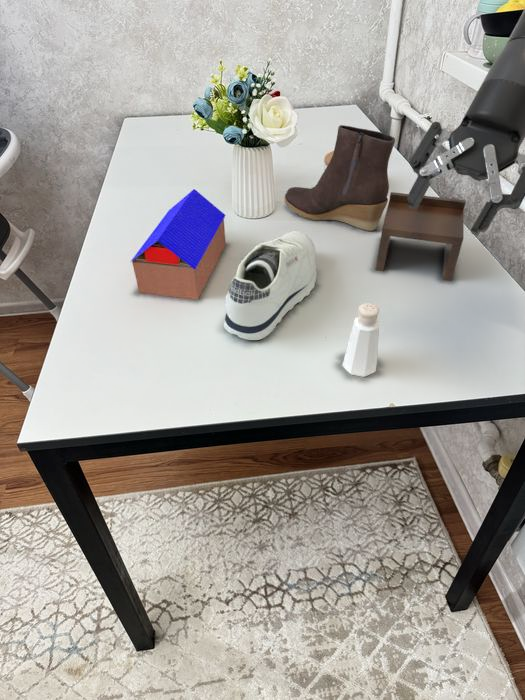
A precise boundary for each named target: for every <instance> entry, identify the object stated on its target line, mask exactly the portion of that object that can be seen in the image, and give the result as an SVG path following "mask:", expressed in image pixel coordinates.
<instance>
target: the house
mask: <svg viewBox="0 0 525 700" xmlns="http://www.w3.org/2000/svg"><path fill="white" fill-rule="evenodd" d="M225 219H226V214H225V213H224V212H223V211H221V210H220V209H219V208H218V207H216V206H215V205H214V204H213V203H212V202H210V200H208V199H207V198H206V197H205V196H204V195H202V194H201V193H200V192H198V190H196V189H195V188H193V189H192V190H190V191H189V192H188V193H187V194H186V195H185V196H183V198H181V199H180V200H179V201H178V202H177V203H176V204H174V205H173V206H172V207H171V208H170V209H168V211H167V212H166V214H165V215H164V216H163V218H162V219H161V220H160V222H158V224H157V226H156V227H155V228H154V230H153V231H152V232H151V233H150V235H149V236H148V237H147V239H146V240H145V241H144V243H143V244H142V245H141V246H140V248H139V250H138V251H137V252H136V253H135V254H134V256H133V257H132V259H131V260H130V262H131V263H132V267H133V271H134V276H135V280H136V284H137V289H138V293H139V294H146V295H155V296H163V297H171V298H179V299H191V300H197V301H198V300H199V298H200V296H201V294H202V293H203V291H204V288H206V285H207V283H208V282H209V279H210V277H211V275H212V273H213V272H214V269H215V267H216V265H217V263H218V261H219V259H220V257H221V255H222V253H223V251H224V249H225V247H226V245H227V243H226V230H225Z"/></svg>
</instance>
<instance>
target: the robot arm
mask: <svg viewBox="0 0 525 700" xmlns="http://www.w3.org/2000/svg"><path fill="white" fill-rule="evenodd" d="M524 140H525V8H523V11H522V13H521V15H520V17H519V19H518V20H517V23H516V24H515V26H514V28H513V30H512V32H511V34H510V36H509V37H508V40H507V41H506V43H505V45H504V46H503V48H502V50H501V51H500V53H499V54H498V55H497V57H496V58H495V59H494V61H493V62H492V65H491V66H490V68H489V70H488V72H487V74H486V76H485V77H484V79H483V81H482V83H481V85H480V87H479V88H478V90H477V91H476V94H475V96H474V97H473V100H472V101H471V103H470V104H469V107H468V108H467V110H466V112H465V114H464V116H463V118H462V120H461V122H460V124H459V125H458V127H456V128H455V129H454V130H451V129H448V128H445V127H443V126H442V124H441V122H439V121H433V122H432V123H431V124H430V126H429V128H428V129H427V131H426V133H425V135H424V136H423V137H422V139H421V141H420V143H419V145H418V146H417V148H416V149H415V151H414V153H413V154H412V156H411V158H410V159H409V165H410V167H411V169H412V171H413V173H415V174H416V175H417V177H416V179H415V181H414V183H413V185H412V187H411V189H410V191H409V192H408V193H407V194H408V198H407V200H408V201H409V204H408V205H409V207H410V208H411V209H414V210H416V209H417V208H418V206H419V204H420V202H421V201H422V199H423V197H424V196H426V193H427V191H428V190H429V188H430V186H431V183H430V182H432V181H433V180H435V179H437V178H439V177H440V176H442V175H443V176H444V175H447V174H448V173H450V172H452V171H453V170H454V171H455V172H456V174H458V175H461V176H469V177H470V178H472V179H473V180H475V181H478V182H481V181H486V180H487V181H488V187H489V192H490V200H489V201H486V203H485V204H484V206H483V208H482V209H481V211H480V213H479V215H478V216H477V217H476V219H475V222H474V223H473V225H472V227H471V228H470V232H471V234H472V235H474V236H479V235H480V233H483V234H484V233H486V231H488V230H489V227H490V226H491V224H492V223H493V221H494V219H495V217H496V215H497V214H498V212H499V211H500V210H501V209H512V210H517V209H519V208H520V207H521V205H522V203H523V201H524V199H525V153H522V152H519V150H520V147H521V145H522V143H523V141H524ZM445 142H448V146H449V149H448V150H446V151H444V152H443V153H441V154H439V155H438V156H436V158H435V159H434V160H432V161H431V162H429V163H428V161H429V159H430V158H431V156H432V155H433V152H434V151H435V150H436V148H437V147H441V146H442V145H443V144H444V143H445ZM427 163H428V164H427ZM514 164H516V165H517V173H518V174H519V177H518V179H517V181H516V183H515V185H514V187H513V189H512V191H511V193H509V194H508V193H505V194H504V193H503V192H502V185H501V177H500V173H501V172H503V171H505V170H506V169H508V168H510V167H512V166H513V165H514Z"/></svg>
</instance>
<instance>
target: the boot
mask: <svg viewBox="0 0 525 700" xmlns="http://www.w3.org/2000/svg"><path fill="white" fill-rule="evenodd" d="M395 143H396V138H395V137H393V136H391V135H389V134H387V133H384V132H382V131H378V130H377V131H376V130H371V129H367V128H361V127H355V126H350V125H345V124H344V125H343V124H341V125H340V124H339V125H338V127H337V135H336V140H335V144H334V149H333V151H334V153H333V156H332V158H331V160H330V162H329V164H328V166H327V168H326V169H325V171H324V170H323V173H322V174H321V176H320V178H319V179H318V181H317V183H316V184H315V186H313V187H311V188H309V187H302V186H292V187H289V188H288V189H287V190H286V193H285V194H284V202H285V204H286V206H287V207H288V208H289V209H290V210H291V211H293V213H296V214H297V215H299V216H300V217H303V218H304V219H308V220H312V221H329V220H330V221H338V222H342V223H345V224H348V225H351V226H353V227H355V228H357V229H360V230H362V231H367V232H372V231H375V230H376V229H377V227H378V225H379V223H380V221H381V218H382V215H383V213H384V211H385V208H386V206H388V203H389V198H388V195H389V191H390V189H389V188H390V183H389V176H388V169H389V161H390V157H391V155H392V152H393V149H394V145H395Z"/></svg>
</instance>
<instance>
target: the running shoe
mask: <svg viewBox="0 0 525 700" xmlns="http://www.w3.org/2000/svg"><path fill="white" fill-rule="evenodd" d="M316 262H317V253H316V247H315V244H314V242H313V240H312V238H311V237H310V236H309V235H308V234H307V233H305V232H302V231H298V230H295V231H290V232H287V233H285V234H283V235H281V236H280V237H277V238H274V239H272V240H269V241H266V242H265V241H263V242H261V243H259V244H257V245H255V246H254V247H253V249H251V250H250V251H249V252H248V253H247V255H246V256H244V258H243V259H242V260H241V262H240V263H239V265H238V266H237V269H236V274H235V276H233V278H232V279H231V283H230V284H229V287H228V291H227V292H226V297H225V303H224V305H225V312H226V313H225V317H224V320H223V328H224V330H225V331H227V332H228V333H229V334H231V335H235V336H237V337H238V338H240V339H242V340H249V341H259V340H262V339H265V338H266V337H267V336H269V335H270V334H271V333H272V332H274V330H275V329H276V327H277V325H278V324H280V323H281V322H282V320H283V317H285V315H286V314H287V313H288V312H289V311H291V310H292V309H294V307H295V305H297V303H301V302H302V301H303V300H304V299H305V297H308V296H309V295H310V294H311V291H312V290H314V288H315V286H316V281H317V279H318V275H317V265H316V264H317V263H316Z"/></svg>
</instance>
